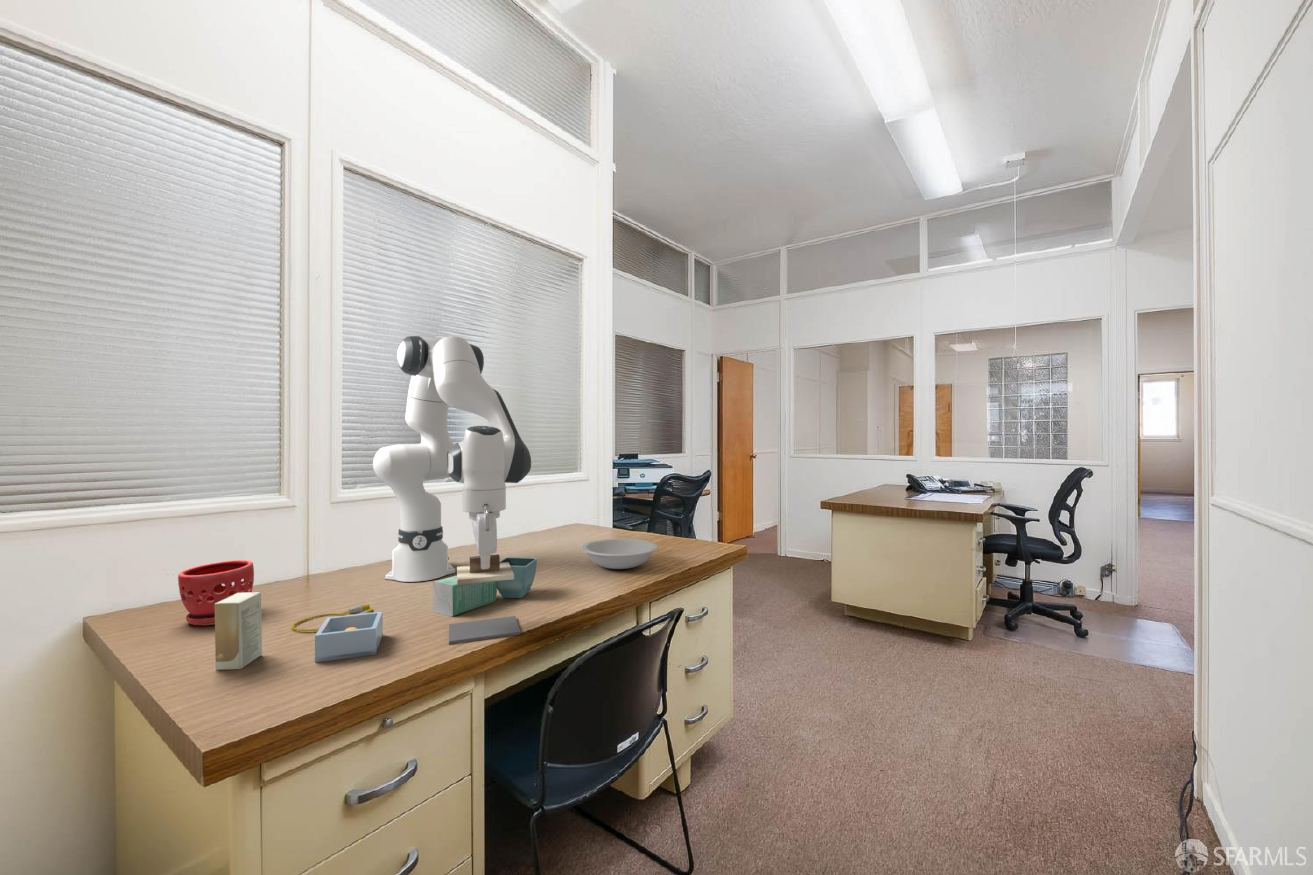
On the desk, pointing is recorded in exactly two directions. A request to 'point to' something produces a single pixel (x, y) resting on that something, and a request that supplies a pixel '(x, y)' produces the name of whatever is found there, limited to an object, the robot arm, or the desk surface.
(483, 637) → the rubber mat
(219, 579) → the plant pot
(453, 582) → the box
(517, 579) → the flower pot
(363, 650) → the blue storage bin
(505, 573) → the birch lid
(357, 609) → the extension cord
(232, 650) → the skincare box
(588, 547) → the soup bowl
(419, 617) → the desk surface
